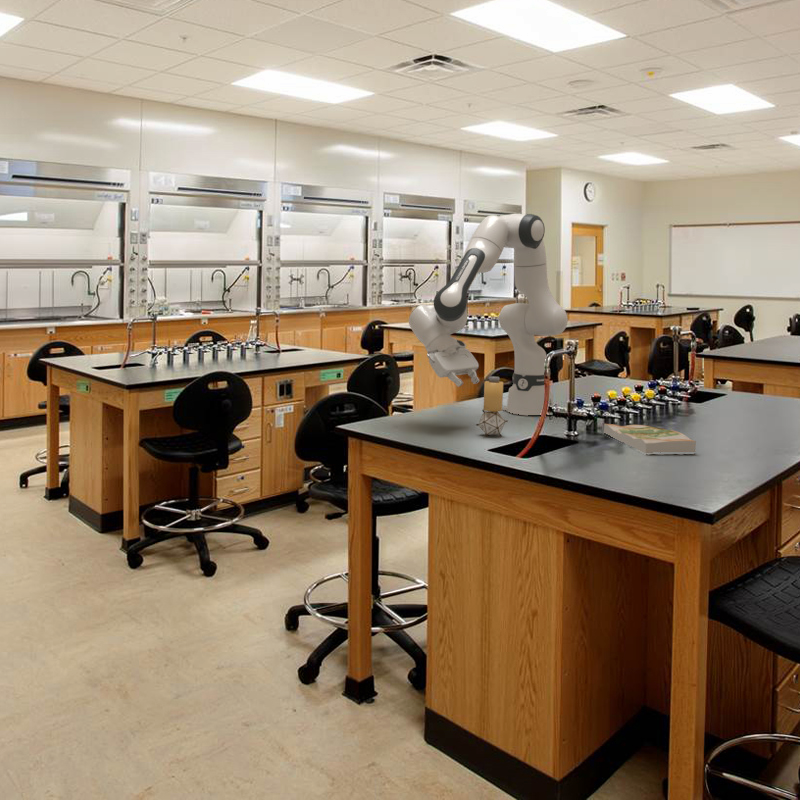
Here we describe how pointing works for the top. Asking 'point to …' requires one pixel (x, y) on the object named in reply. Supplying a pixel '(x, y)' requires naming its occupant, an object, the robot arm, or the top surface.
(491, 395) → the bottle
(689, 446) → the topographic model
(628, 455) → the top surface
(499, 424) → the game die
